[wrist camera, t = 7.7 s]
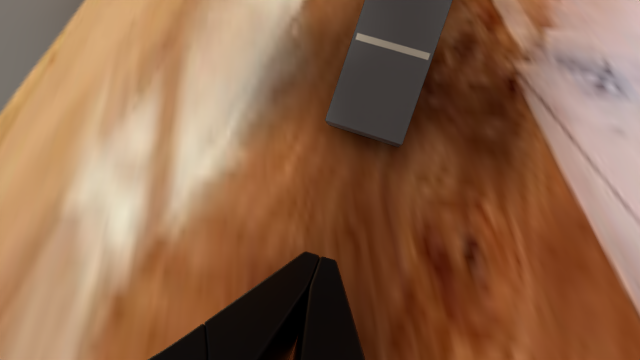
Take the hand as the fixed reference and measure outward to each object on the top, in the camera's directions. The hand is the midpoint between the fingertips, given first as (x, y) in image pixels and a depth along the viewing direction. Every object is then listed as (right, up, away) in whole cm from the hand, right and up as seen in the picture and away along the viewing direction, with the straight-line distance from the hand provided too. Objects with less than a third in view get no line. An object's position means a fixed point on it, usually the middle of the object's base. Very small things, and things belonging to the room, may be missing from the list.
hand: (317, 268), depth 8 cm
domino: (+3, +5, +13) cm, 14 cm away
